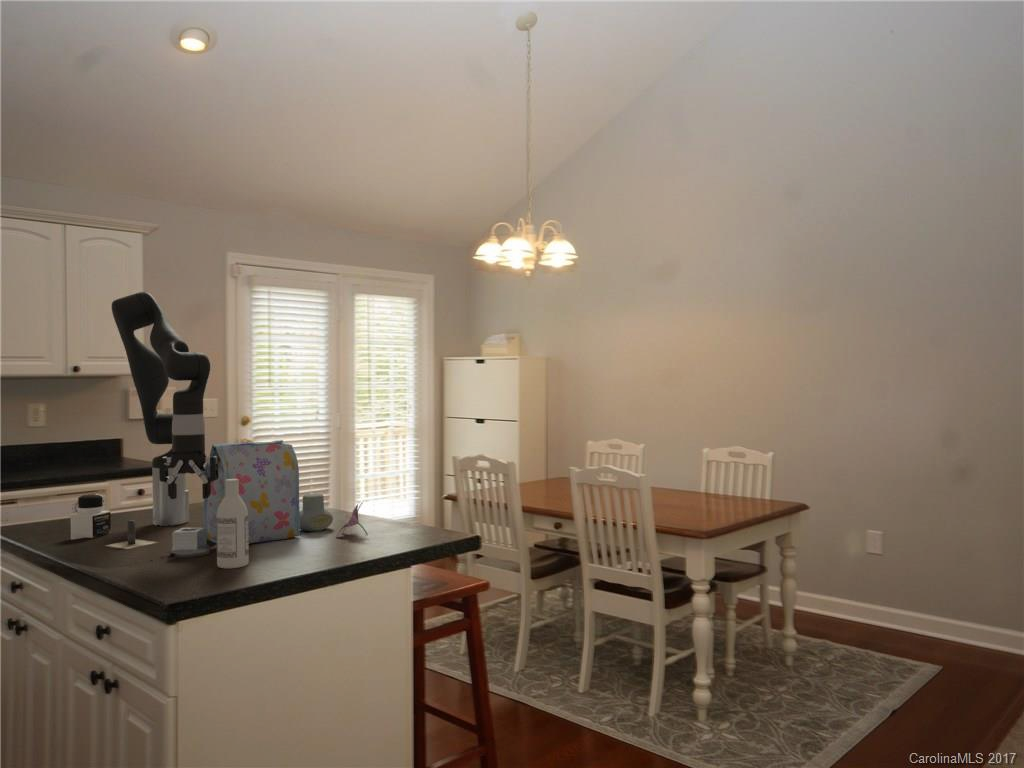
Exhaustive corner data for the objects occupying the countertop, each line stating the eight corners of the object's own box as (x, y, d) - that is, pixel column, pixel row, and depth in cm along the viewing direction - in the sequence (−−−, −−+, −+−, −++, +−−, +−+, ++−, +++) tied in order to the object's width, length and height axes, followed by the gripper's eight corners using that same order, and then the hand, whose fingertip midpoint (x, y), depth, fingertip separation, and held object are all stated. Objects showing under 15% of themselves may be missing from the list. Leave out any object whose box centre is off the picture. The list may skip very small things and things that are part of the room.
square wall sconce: (182, 545, 202) (182, 527, 202) (206, 545, 203) (206, 527, 202) (172, 550, 196) (172, 532, 196) (197, 550, 197) (197, 531, 196)
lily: (359, 533, 230) (341, 504, 229) (389, 520, 225) (371, 491, 224) (336, 554, 220) (318, 524, 219) (367, 541, 214) (348, 510, 213)
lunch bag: (275, 530, 231) (274, 437, 231) (305, 537, 219) (304, 440, 219) (198, 541, 215) (196, 442, 215) (226, 550, 203) (225, 446, 203)
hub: (193, 548, 206) (192, 529, 206) (217, 552, 201) (216, 532, 201) (162, 555, 198) (162, 535, 198) (186, 559, 193) (186, 538, 193)
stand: (136, 543, 214) (136, 516, 214) (158, 546, 209) (157, 519, 209) (104, 549, 206) (104, 522, 206) (126, 552, 202) (126, 524, 202)
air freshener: (302, 534, 223) (302, 498, 223) (289, 530, 230) (288, 495, 230) (337, 529, 231) (337, 494, 231) (323, 525, 237) (323, 491, 237)
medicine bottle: (93, 541, 217) (92, 496, 217) (70, 540, 219) (69, 496, 218) (111, 536, 224) (110, 493, 224) (89, 535, 226) (88, 492, 225)
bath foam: (238, 560, 191) (237, 476, 191) (254, 565, 187) (253, 479, 186) (211, 566, 186) (210, 479, 186) (227, 570, 181) (226, 482, 181)
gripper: (222, 431, 203) (223, 496, 203) (166, 431, 203) (167, 496, 203) (211, 433, 196) (212, 500, 196) (152, 433, 196) (153, 501, 196)
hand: (189, 498), depth 200 cm, fingers open, 7 cm apart
